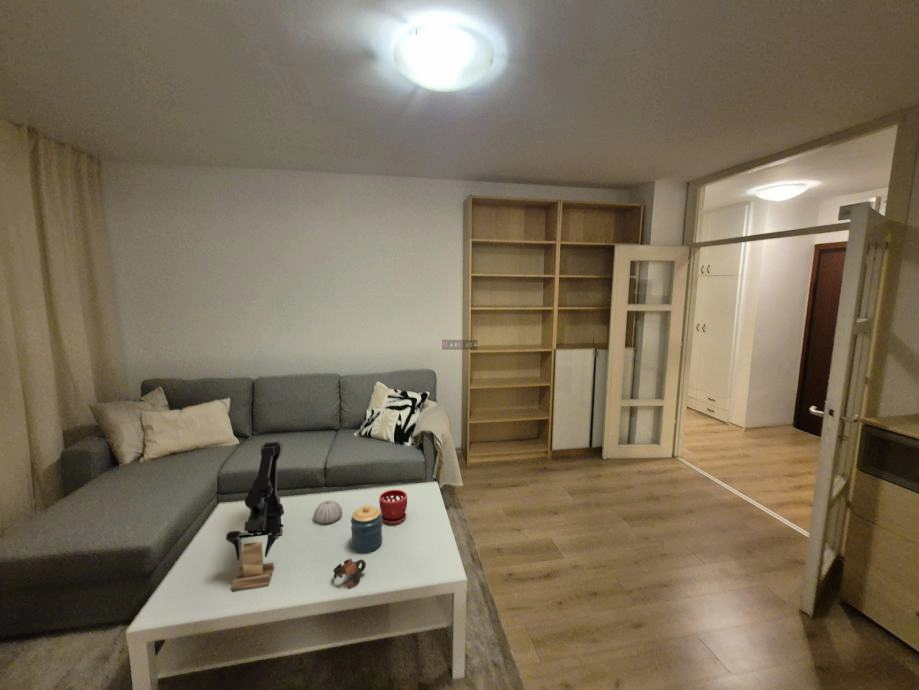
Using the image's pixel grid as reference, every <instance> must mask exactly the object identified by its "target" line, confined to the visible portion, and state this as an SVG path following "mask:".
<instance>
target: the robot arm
mask: <svg viewBox="0 0 919 690" xmlns="http://www.w3.org/2000/svg"><path fill="white" fill-rule="evenodd" d="M283 449H284V448H283V443H281V442H280V441H269V442H268V441H267V442H265V443H264V445H263V444H262V445H261V446H260V455H261V458H260V461H259V462H260V463H259V467H258V473H257V477H256V478H254V480H253V481H252V483H251V486H250V487H249V489H248V493H247V495H246V497H245V499H244V505H245V506H246V507H247V509H248V510H249V516H248V520H246V521H244V529H243V530H244V532H241V531H240V530H232V531H228V532H227V533H226V537H225V540H226V541H227V542H228V543H231V544H232V545H233V546H234V550H235V554H236V555H235V556H236V560H237V562H240V559H241V554H242V541H241V540H242V539H249V538H255V537H262V536H263V537H264V536H267V541H266V547H265V550H264V558H268V557H267V556H268V554H269V553H270V550H271V548H272V546H273V544H275V541H276V540H278V539H279V537H282V536H283V533H284V532H283V527H284V524H282V516H283V515H284V514H285V509H284V506H283V503H281V498H280V496H279V495H278V494H277V492H278V489H277V488H278V486H277V485H278V460H279V459H280V457H281V456H282V452H283Z"/></svg>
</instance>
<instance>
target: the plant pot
mask: <svg viewBox="0 0 919 690" xmlns="http://www.w3.org/2000/svg"><path fill="white" fill-rule="evenodd" d="M392 496H393V497H392ZM397 497H398V498H399V500H398V499H397ZM393 500H394V501H393ZM378 501H379V511H380V514H381V515H382V520H381V521H383V522H384V523H385V524H388V525H396V524H400V523H402V522H403V521H404V520H405V519H406V516H407V513H406V511H407V506H408V494H407V492H405V491H404V490H402V489H390V490H385V491H384V492H382V493H381V494H380V495H379V499H378Z"/></svg>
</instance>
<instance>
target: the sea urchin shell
mask: <svg viewBox="0 0 919 690" xmlns="http://www.w3.org/2000/svg"><path fill="white" fill-rule="evenodd" d="M342 515H343V508H342V507H341V505H340V504H339V503H338V502H337V501H334V500H324V501H322V502H320V504H318V506H317V507H316V508H315V510H314V512H313V516H312V517H313V519H314V521H316V522H318V523H320V524H329V523H334V522H336V521H338V519H340V518H341V517H342Z"/></svg>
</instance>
